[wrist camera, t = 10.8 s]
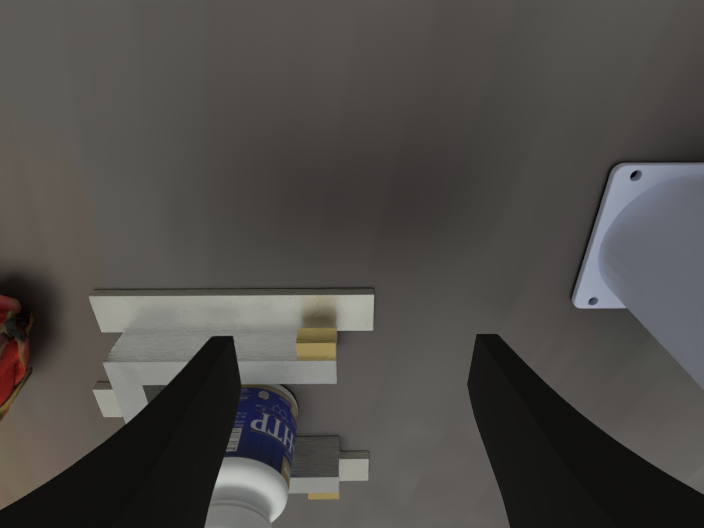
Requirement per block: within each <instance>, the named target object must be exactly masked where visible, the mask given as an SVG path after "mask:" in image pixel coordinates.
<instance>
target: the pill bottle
mask: <svg viewBox="0 0 704 528" xmlns="http://www.w3.org/2000/svg"><path fill="white" fill-rule="evenodd" d="M241 385H242V388H241V393H240V399H239V405H238V410H237V415H236V420H235V423H234V426H233V430H232V433H231V436H230V439H229V443H228V446H227V449H226V452H225V455H224V459H223V462H222V465H221V468H220V471H219V474H218V478H217V481H216V484H215V487H214V490H213V494H212V498H211V501H210V505H209V509H208V514H207V518H206V523H205V528H271V522H273V521H274V520H275V519H276V518H277V517H278V516H279V515H280V514H281V513H282V511H283V510H284V508H285V506H286V503H287V498H288V493H289V485H290V477H291V469H292V460H293V452H294V443H295V435H296V427H297V419H298V406H297V403H296V401H295V399H294V397H293V396H292V394H291V393H290V392H289V391H288V390H287V389H286V388H284V387H283V386H281V385H279V384H241Z"/></svg>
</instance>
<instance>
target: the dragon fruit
mask: <svg viewBox="0 0 704 528" xmlns="http://www.w3.org/2000/svg"><path fill="white" fill-rule="evenodd" d="M6 296H8V295H5V296H3V295H1V294H0V421H1V420H2V419H3V417H4V416H5V415H6V413H7V412H8V410H9V407H10V405H11V404H12V403H13V401H14V399H15V397H16V395H17V394H18V393H19V391H20V390H21V388H22V387H23V386H24V384H25V383H26V382H27V380H28V378H29V376H30V375H31V373H32V369H33V367H30V368H29V369H28V370H27V367H28V361H29V355H30V350H29V339H28V338H27V337H28V333H29V330H30V329H31V325H32V323H33V322H34V321H35V319H34V318H33V314H32V312H30V314H29V315H26V316H25V317H24V318H17V317H15V315H16V314H18V313H19V312H20V309H21V306H20V303H19V301H18V300H17V299H14V298H10V297H6ZM21 380H22V381H21ZM23 383H24V384H23ZM22 384H23V385H22Z"/></svg>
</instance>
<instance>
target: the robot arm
mask: <svg viewBox="0 0 704 528" xmlns="http://www.w3.org/2000/svg"><path fill="white" fill-rule="evenodd" d="M636 170H637V174H636V175H635V176H634V177H633V178H630V175H631V174H632V173H633V172H634V171H636ZM593 297H594V299H593V300H591V301H589V299H591V298H593ZM572 302H573V304H574V305H575V306H576V307H577V308H627V309H628V310H629V311H630V312H631V313H632V314H633V315H634V316H635V317H636V318H637V319H638V320H639V321H640V322H641V323H642V325H643V326H644V327H645V328H646V329H647V330H648V331H649V332H650V333H651V334H652V335H653V336H654V337H655V338H656V339H657V341H658V342H659V343H660V344H661V345H662V346H663V347H664V348H665V349H666V350H667V351H668V352H669V353H670V354H671V356H672V357H673V358H674V359H675V360H676V361H677V362H678V363H679V364H680V365H681V366H682V367H683V368H684V369H685V370H686V372H687V373H688V374H689V375H690V376H691V377H692V378H693V379H694V380H695V381H696V382H697V383H698V384H699V385H700V387H701V388H702V389H703V390H704V163H620V164H618V165H617V166H615V167H614V168H613V169H612V171H611V173H610V176H609V179H608V183H607V186H606V189H605V192H604V196H603V199H602V202H601V205H600V208H599V212H598V215H597V218H596V221H595V225H594V228H593V231H592V234H591V237H590V241H589V244H588V247H587V250H586V254H585V257H584V260H583V263H582V267H581V270H580V273H579V276H578V279H577V283H576V286H575V289H574V292H573V296H572ZM467 385H468V390H469V395H470V400H471V405H472V409H473V413H474V417H475V420H476V423H477V426H478V429H479V432H480V435H481V438H482V441H483V443H484V446H485V449H486V452H487V455H488V457H489V460H490V463H491V466H492V469H493V471H494V474H495V477H496V480H497V483H498V486H499V488H500V492H501V495H502V498H503V501H504V505H505V509H506V513H507V517H508V521H509V525H510V528H704V494H702V493H700V492H698V491H696V490H695V489H693V488H691V487H689V486H688V485H686V484H684V483H682V482H681V481H679V480H677V479H675V478H674V477H672V476H670V475H668V474H667V473H665V472H664V471H662V470H660V469H659V468H657V467H655V466H654V465H652V464H651V463H649V462H647V461H646V460H644V459H643V458H641V457H640V456H638V455H637V454H635V453H634V452H632V451H631V450H629V449H628V448H626V447H625V446H623V445H622V444H620V443H619V442H618V441H616V440H615V439H613V438H612V437H611V436H609V435H608V434H606V433H605V432H604V431H603V430H601V429H600V428H599V427H597V426H596V425H595V424H593V423H592V422H591V421H589V420H588V419H587V418H586V417H584V416H583V415H582V414H581V413H579V412H578V411H577V410H576V409H575V408H573V407H572V406H571V405H570V404H569V403H568V402H566V401H565V400H564V399H563V398H562V397H561V396H559V395H558V394H557V393H556V392H555V391H554V390H553V389H552V388H551V387H550V386H549V385H547V384H546V383H545V382H544V381H543V380H542V379H541V378H540V377H539V376H538V375H537V374H536V373H535V372H534V371H533V370H532V369H531V368H530V367H529V366H528V365H527V364H526V363H525V362H524V361H523V360H522V359H521V358H520V357H519V356H518V355H517V354H516V353H515V352H514V351H513V350H512V349H511V348H510V347H509V346H508V345H507V344H506V342H505V341H504V340H503V339H502V338H501V337H500V336H499V335H498V334H477V335H476V340H475V346H474V351H473V356H472V362H471V367H470V373H469V378H468V383H467ZM241 388H242V385H241V379H240V373H239V367H238V362H237V356H236V350H235V344H234V339H233V336H212V337H211V338H210V339H209V340H208V341H207V342H206V343H205V344H204V345H203V346H202V347H201V349H200V350H199V351H198V352H197V353H196V354H195V355H194V357H193V358H192V359H191V360H190V361H189V362H188V363H187V364H186V365H185V367H184V368H183V369H182V370H181V371H180V372H179V373H178V374H177V375H176V376H175V377H174V378H173V379H172V380H171V381H170V383H169V384H168V385H167V386H166V387H165V388H164V389H163V390H162V391H161V392H160V393H159V394H158V395H157V396H156V397H155V398H154V399H153V400H152V401H150V402H149V403H148V404H147V405H146V406H145V407H144V408H143V409H142V410H141V411H140V412H139V413H138V414H137V415H136V416H135V417H133V418H132V419H131V420H130V421H129V422H128V423H127V424H125V425H124V426H123V427H122V428H121V429H120V430H118V431H117V432H116V433H115V434H113V435H112V436H111V437H110V438H109V439H107V440H106V441H105V442H103V443H102V444H101V445H99V446H98V447H97V448H95V449H94V450H93V451H91V452H90V453H88V454H87V455H86V456H84V457H83V458H82V459H80V460H79V461H77V462H76V463H75V464H73V465H72V466H71V467H69V468H68V469H66V470H65V471H63V472H62V473H60V474H59V475H57V476H56V477H54V478H53V479H51V480H50V481H48V482H47V483H45V484H43V485H42V486H40V487H39V488H37V489H35V490H34V491H32V492H31V493H29V494H27V495H26V496H24V497H22V498H21V499H19V500H17V501H16V502H14V503H12V504H10V505H9V506H7V507H5V508H3V509H2V510H0V528H205V523H206V518H207V514H208V509H209V505H210V501H211V498H212V494H213V490H214V487H215V484H216V481H217V478H218V474H219V471H220V468H221V465H222V462H223V459H224V455H225V452H226V449H227V446H228V443H229V439H230V436H231V433H232V430H233V426H234V423H235V420H236V415H237V410H238V405H239V399H240V393H241Z"/></svg>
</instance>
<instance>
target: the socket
mask: <svg viewBox="0 0 704 528" xmlns="http://www.w3.org/2000/svg"><path fill="white" fill-rule="evenodd" d="M88 297H89V299H90V302H91V305H92V308H93V310H94V313H95V316H96V318H97V321H98V324H99V327H100V329H101V332H123V333H122V335H121V336H120V338H119V339H118V341H117V342H116V344H115V345H114V347H113V348H112V350H111V351H110V352H109V354H108V355H107V357H106V358H105V360H104V361H103V365H104V367H105V370H106V373H107V375H108V378H109V381H110V382H97V384H96V385H95V387H94V388H93V392H94V395H95V397H96V400H97V402H98V404H99V407H100V409H101V412H102V414H103V416H104V417H124V420H125V423H126V424H127V423H128V422H129V421H130V420H131V419H132V418H133V417H135V416H136V415H137V414H138V413H139V412H140V411H141V410H142V409H143V408H144V407H145V406H146V405H147V404H148V403H149V402H150V401H152V400H153V399H154V398H155V397H156V396H157V395H158V394H159V393H160V392H161V391H162V390H163V389H164V388H165V387H166V386H167V385H168V384H169V383H170V381H171V380H172V379H173V378H174V377H175V376H176V375H177V374H178V373H179V372H180V371H181V370H182V369H183V368H184V367H185V365H186V364H187V363H188V362H189V361H190V360H191V359H192V358H193V357H194V355H195V354H196V353H197V352H198V351H199V350H200V349H201V347H202V346H203V345H204V344H205V343H206V342H207V341H208V340H209V339H210V338H211V337H212V336H233V339H234V344H235V350H236V356H237V362H238V367H239V373H240V379H241V384H337V348H338V342H337V331H373V313H374V289H200V290H94V291H93V292H92V293H91V294H90V295H89V296H88ZM368 464H369V456H368V451H352V452H340V447H339V436H325V437H295V443H294V452H293V460H292V469H291V477H290V485H289V493H308V498H309V499H339V481H364V480H368Z"/></svg>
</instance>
